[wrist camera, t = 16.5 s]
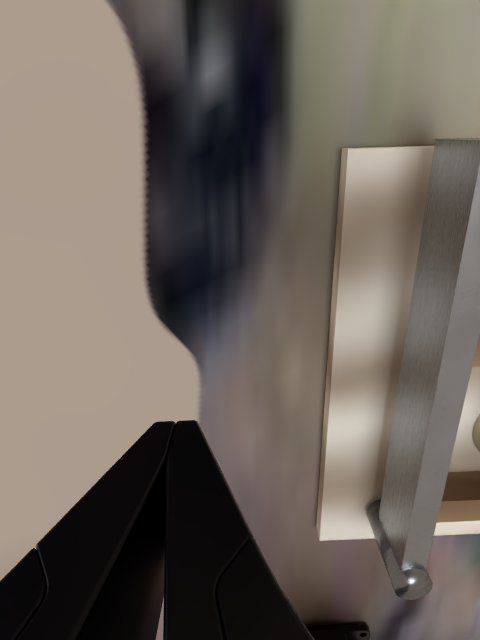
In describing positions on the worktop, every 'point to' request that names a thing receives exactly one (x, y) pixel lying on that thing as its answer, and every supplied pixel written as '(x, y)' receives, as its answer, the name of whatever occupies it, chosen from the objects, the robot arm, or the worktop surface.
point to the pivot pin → (476, 433)
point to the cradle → (380, 345)
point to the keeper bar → (432, 367)
